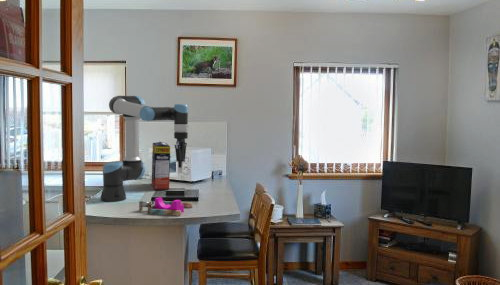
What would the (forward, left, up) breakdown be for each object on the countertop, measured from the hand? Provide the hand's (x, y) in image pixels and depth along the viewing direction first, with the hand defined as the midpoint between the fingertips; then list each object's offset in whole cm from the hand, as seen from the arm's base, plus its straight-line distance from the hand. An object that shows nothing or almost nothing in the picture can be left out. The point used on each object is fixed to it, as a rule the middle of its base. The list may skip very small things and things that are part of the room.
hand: (180, 172), depth 237 cm
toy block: (-4, -8, -21) cm, 23 cm away
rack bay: (-3, -5, -21) cm, 22 cm away
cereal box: (-38, +58, -21) cm, 72 cm away
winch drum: (-18, -9, -21) cm, 29 cm away
